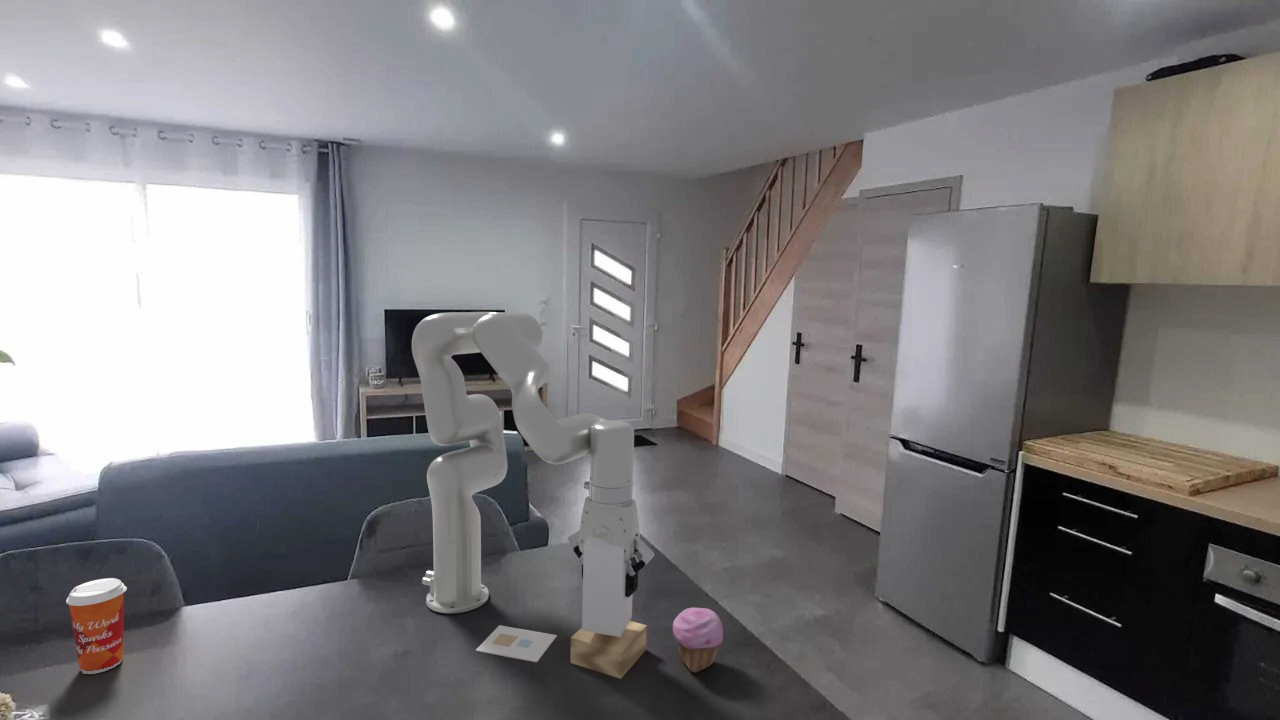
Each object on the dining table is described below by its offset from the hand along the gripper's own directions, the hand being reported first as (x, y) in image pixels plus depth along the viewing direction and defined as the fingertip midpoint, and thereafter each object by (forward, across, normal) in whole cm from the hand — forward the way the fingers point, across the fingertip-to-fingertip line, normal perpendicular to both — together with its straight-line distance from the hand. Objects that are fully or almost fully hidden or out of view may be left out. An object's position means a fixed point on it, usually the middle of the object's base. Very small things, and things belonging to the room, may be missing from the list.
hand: (609, 588), depth 114 cm
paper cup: (+13, -75, -42) cm, 87 cm away
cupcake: (+13, +15, +5) cm, 21 cm away
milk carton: (+7, 0, -1) cm, 7 cm away
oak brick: (+13, 0, 0) cm, 13 cm away
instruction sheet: (+13, -17, -4) cm, 22 cm away
